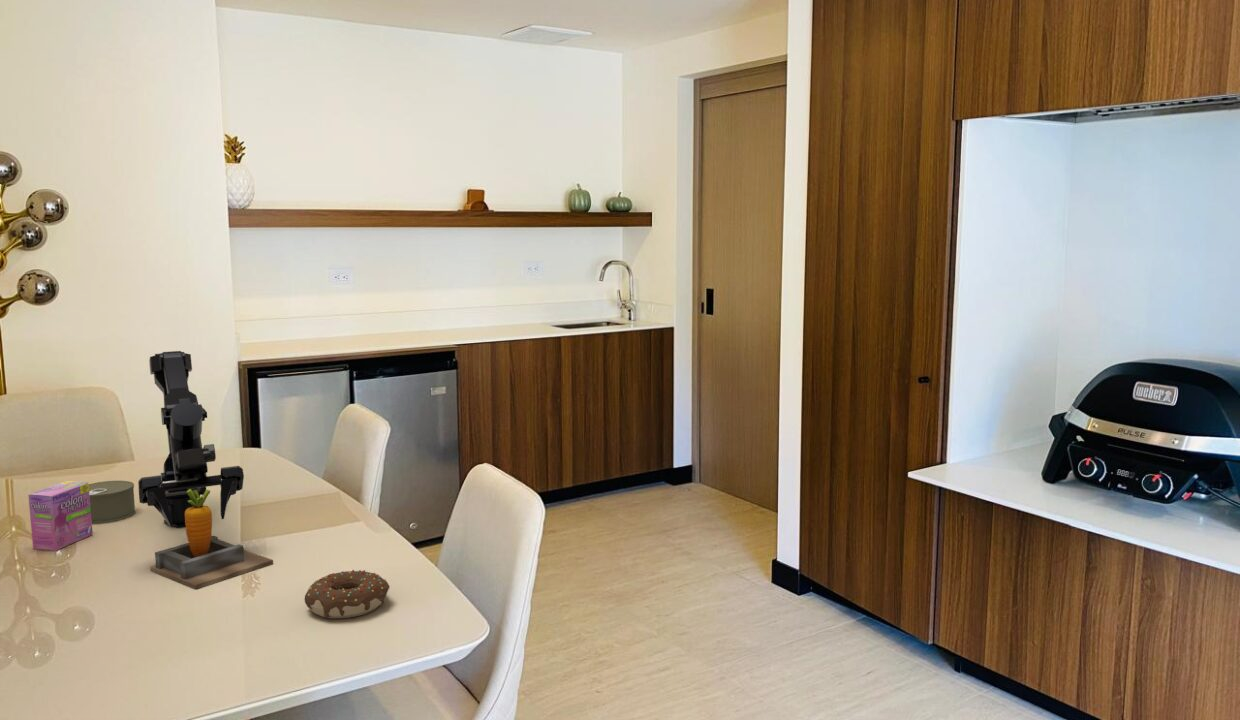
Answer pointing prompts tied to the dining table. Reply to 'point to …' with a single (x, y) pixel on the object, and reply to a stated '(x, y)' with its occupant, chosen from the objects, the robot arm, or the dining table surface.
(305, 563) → the dining table surface
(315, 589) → the donut
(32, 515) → the box
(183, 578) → the grey frame on base
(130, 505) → the can
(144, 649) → the dining table surface
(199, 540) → the carrot
